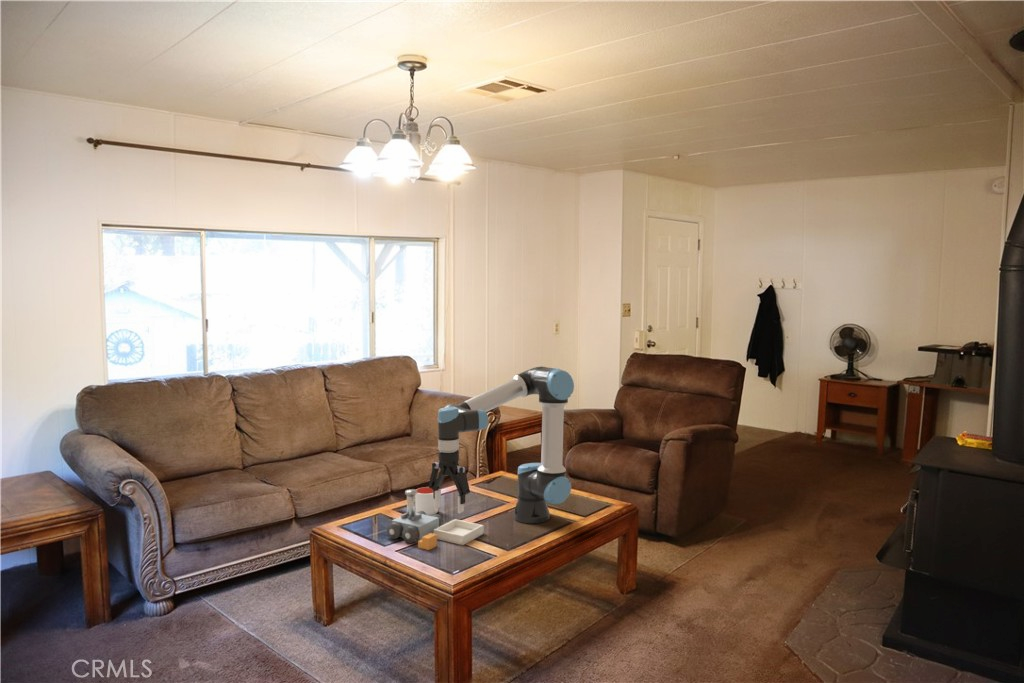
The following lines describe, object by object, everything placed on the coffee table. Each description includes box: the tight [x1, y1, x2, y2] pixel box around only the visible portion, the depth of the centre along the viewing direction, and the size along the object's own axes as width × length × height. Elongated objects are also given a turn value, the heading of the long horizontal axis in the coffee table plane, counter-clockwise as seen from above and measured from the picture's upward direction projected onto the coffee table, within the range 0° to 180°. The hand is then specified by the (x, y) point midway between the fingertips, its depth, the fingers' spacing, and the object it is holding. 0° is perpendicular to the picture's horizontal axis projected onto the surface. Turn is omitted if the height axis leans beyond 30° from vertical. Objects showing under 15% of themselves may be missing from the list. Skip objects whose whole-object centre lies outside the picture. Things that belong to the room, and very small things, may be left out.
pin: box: [404, 488, 417, 520], centre depth 268 cm, size 5×5×11 cm
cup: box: [415, 486, 439, 516], centre depth 292 cm, size 10×10×10 cm
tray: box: [434, 518, 485, 546], centre depth 265 cm, size 14×14×3 cm
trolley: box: [386, 511, 445, 544], centre depth 267 cm, size 14×19×8 cm
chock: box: [417, 533, 438, 551], centre depth 254 cm, size 5×5×4 cm
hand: (449, 509), depth 249 cm, fingers open, 10 cm apart
